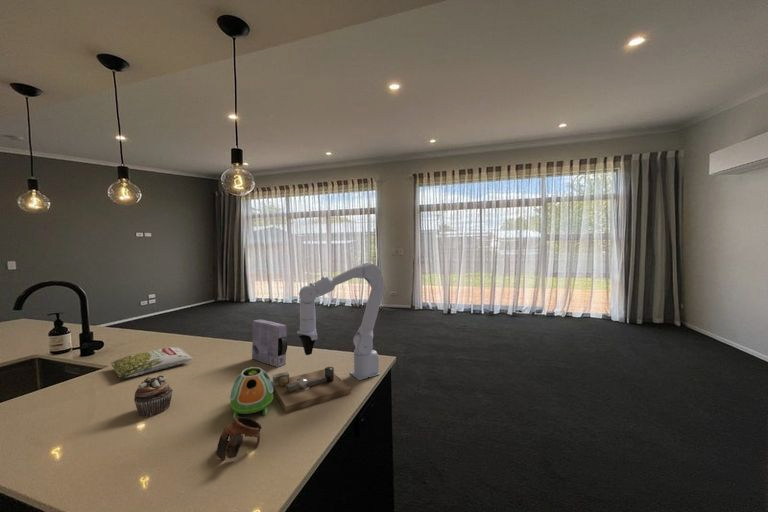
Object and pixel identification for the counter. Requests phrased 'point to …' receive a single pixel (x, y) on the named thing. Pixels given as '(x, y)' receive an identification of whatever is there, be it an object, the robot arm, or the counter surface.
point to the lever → (311, 381)
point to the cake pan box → (269, 342)
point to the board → (307, 390)
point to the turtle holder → (251, 392)
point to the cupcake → (153, 396)
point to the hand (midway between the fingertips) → (308, 354)
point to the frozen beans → (150, 361)
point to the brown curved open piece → (237, 436)
